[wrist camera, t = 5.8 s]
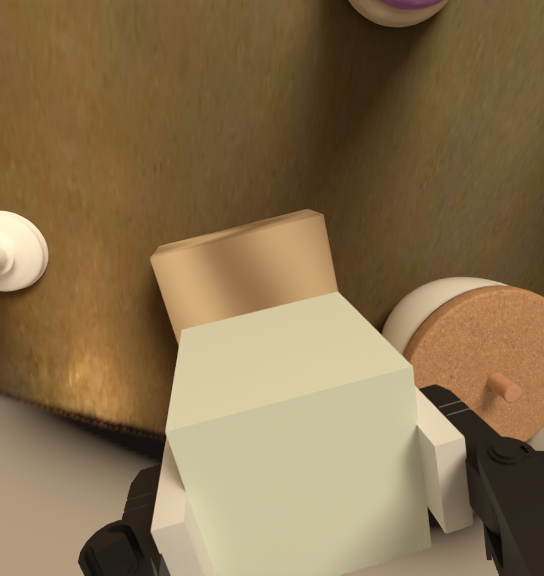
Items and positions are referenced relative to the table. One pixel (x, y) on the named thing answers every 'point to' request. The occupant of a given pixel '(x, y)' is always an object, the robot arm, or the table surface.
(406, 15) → the stacking toy
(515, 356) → the lidded jar
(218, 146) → the table surface
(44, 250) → the chess piece
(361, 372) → the cube
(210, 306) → the plinth
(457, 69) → the table surface
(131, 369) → the table surface
